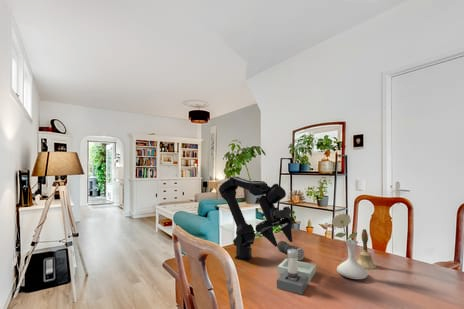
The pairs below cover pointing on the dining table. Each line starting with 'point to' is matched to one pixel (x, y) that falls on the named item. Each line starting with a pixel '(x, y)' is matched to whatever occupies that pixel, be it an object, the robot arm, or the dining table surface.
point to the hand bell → (365, 254)
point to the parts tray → (299, 268)
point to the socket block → (292, 283)
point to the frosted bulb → (292, 264)
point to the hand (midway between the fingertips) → (284, 244)
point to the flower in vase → (350, 265)
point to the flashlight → (284, 247)
